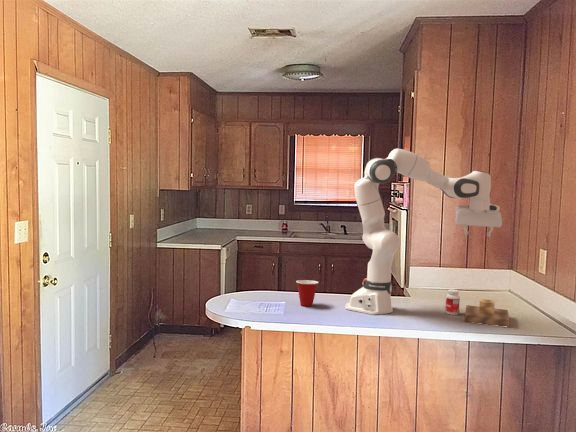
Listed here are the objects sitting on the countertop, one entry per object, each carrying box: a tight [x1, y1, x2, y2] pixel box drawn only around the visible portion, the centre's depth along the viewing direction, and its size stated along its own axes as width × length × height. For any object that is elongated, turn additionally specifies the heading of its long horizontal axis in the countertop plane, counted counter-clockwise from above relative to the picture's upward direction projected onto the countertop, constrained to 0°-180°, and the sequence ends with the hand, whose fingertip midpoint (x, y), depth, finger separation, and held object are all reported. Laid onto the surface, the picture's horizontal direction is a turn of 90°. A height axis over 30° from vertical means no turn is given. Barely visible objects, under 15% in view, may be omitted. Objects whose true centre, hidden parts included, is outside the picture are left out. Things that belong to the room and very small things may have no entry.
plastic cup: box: [295, 279, 319, 308], centre depth 236 cm, size 11×11×12 cm
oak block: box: [478, 298, 496, 314], centre depth 221 cm, size 6×6×5 cm
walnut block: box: [464, 304, 510, 328], centre depth 221 cm, size 18×18×4 cm
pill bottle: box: [444, 288, 461, 316], centre depth 229 cm, size 6×6×11 cm
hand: (477, 235), depth 227 cm, fingers open, 8 cm apart
